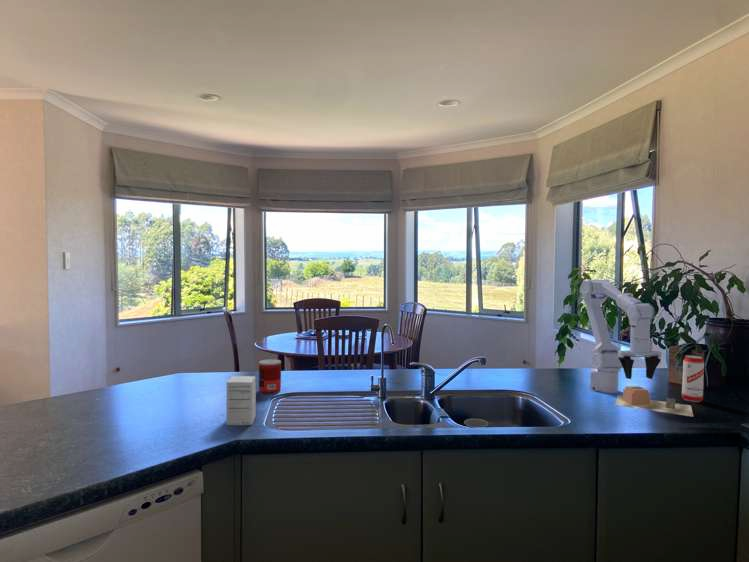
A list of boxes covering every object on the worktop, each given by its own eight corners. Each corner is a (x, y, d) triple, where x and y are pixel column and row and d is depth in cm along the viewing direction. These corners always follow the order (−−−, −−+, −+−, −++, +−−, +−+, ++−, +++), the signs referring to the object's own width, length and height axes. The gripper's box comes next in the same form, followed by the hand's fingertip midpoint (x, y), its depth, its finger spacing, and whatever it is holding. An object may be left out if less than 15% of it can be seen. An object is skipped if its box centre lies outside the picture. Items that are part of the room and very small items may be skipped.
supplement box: (231, 417, 141) (231, 375, 141) (256, 416, 142) (256, 375, 142) (225, 425, 134) (225, 382, 134) (251, 425, 135) (252, 381, 134)
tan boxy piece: (631, 404, 158) (632, 389, 158) (622, 400, 163) (623, 385, 163) (649, 404, 158) (650, 389, 158) (640, 400, 163) (641, 385, 163)
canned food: (284, 389, 173) (285, 360, 172) (271, 395, 165) (271, 364, 165) (268, 387, 176) (268, 358, 175) (254, 392, 169) (254, 362, 168)
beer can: (705, 403, 165) (707, 358, 165) (686, 402, 166) (688, 357, 166) (697, 398, 171) (699, 355, 171) (678, 397, 173) (680, 354, 172)
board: (614, 408, 158) (615, 395, 158) (617, 398, 170) (618, 386, 170) (693, 420, 146) (694, 407, 146) (690, 409, 158) (691, 396, 158)
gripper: (627, 340, 155) (626, 381, 155) (668, 340, 156) (667, 380, 157) (614, 337, 162) (613, 376, 162) (653, 337, 163) (652, 376, 164)
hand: (638, 378), depth 160 cm, fingers open, 7 cm apart
